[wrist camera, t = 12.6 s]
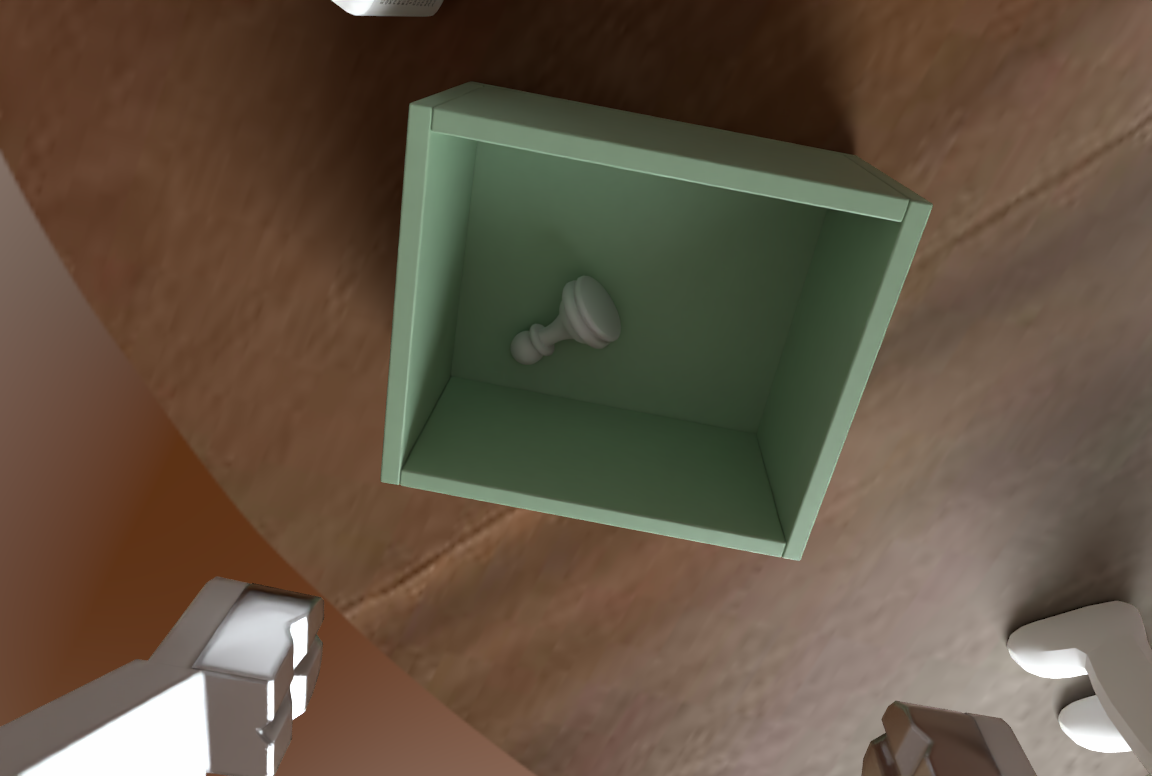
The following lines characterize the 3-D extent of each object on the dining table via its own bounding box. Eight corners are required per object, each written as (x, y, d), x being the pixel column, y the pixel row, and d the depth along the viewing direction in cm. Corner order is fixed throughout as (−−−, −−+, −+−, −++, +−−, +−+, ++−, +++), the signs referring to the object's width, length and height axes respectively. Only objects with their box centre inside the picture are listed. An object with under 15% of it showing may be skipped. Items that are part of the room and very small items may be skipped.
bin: (437, 379, 31) (379, 482, 24) (469, 80, 26) (408, 102, 19) (765, 442, 31) (800, 562, 24) (857, 155, 26) (934, 204, 19)
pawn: (630, 326, 28) (545, 371, 30) (592, 265, 28) (508, 314, 30) (610, 351, 26) (520, 398, 28) (569, 285, 26) (480, 337, 28)
